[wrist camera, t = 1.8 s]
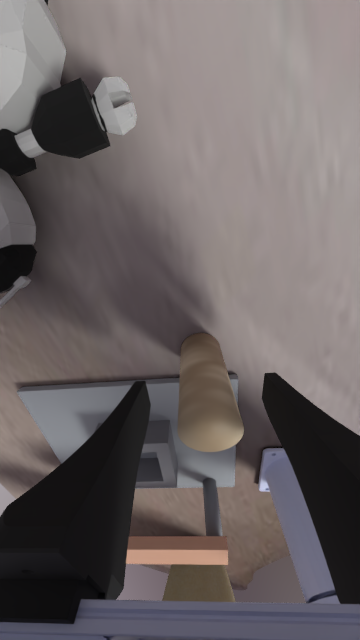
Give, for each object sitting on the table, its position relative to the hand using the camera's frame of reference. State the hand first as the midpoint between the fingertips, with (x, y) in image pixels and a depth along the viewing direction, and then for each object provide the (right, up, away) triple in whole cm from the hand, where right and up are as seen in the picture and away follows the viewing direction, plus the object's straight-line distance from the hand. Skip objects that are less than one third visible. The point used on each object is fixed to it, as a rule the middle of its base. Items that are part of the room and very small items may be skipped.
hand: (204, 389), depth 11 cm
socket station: (-6, -9, +9) cm, 14 cm away
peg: (0, +2, +4) cm, 4 cm away
